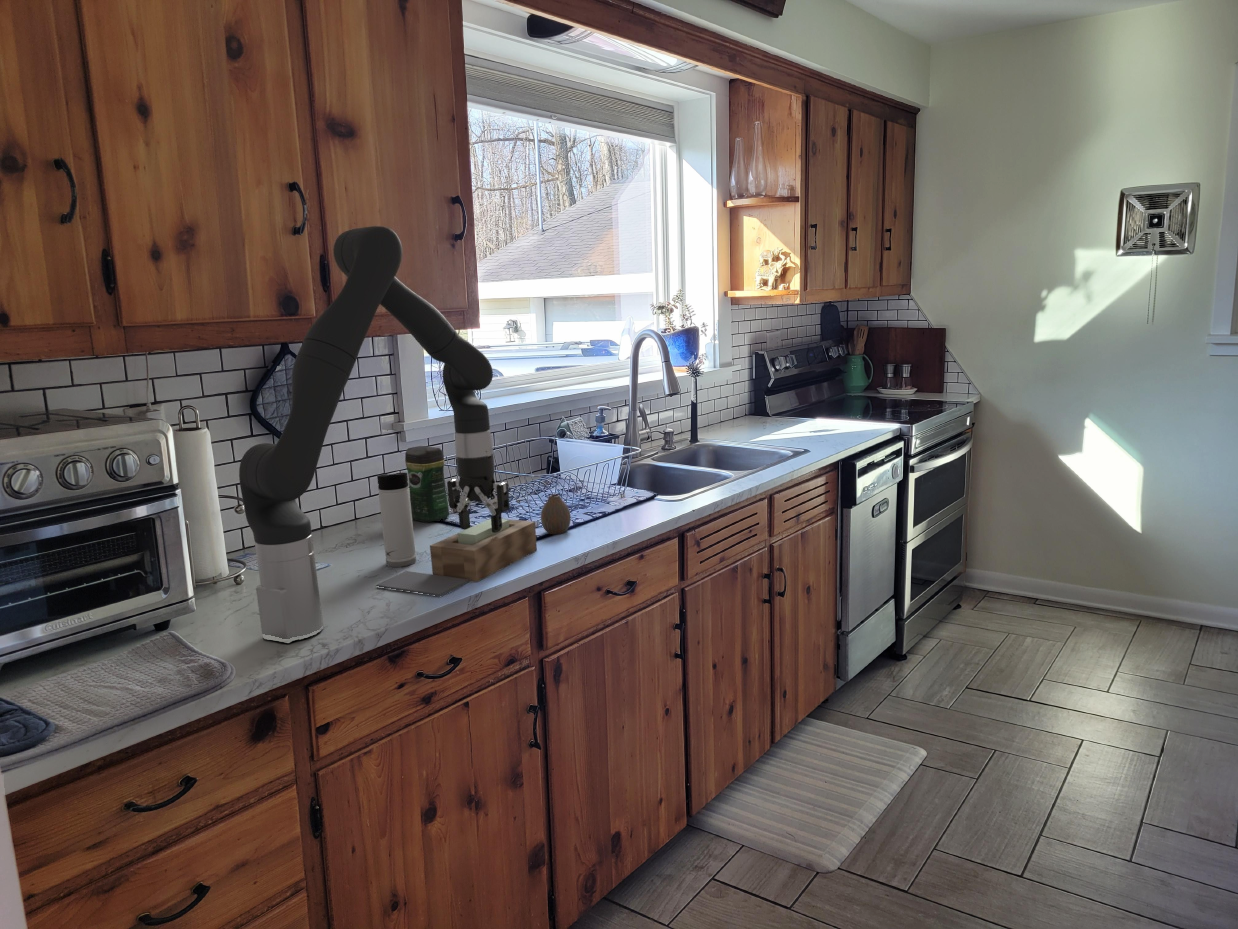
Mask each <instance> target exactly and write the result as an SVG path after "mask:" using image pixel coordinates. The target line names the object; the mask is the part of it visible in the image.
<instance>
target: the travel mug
mask: <svg viewBox="0 0 1238 929" xmlns="http://www.w3.org/2000/svg"><path fill="white" fill-rule="evenodd" d="M376 477H377V478H376V479H377V485H378V486H377V487H378V490H377V491H378V499H379V506H380V507H379V508H380V517H381V518H380V519H381V527H382V536H383V544H384V553H385V562H386V563H385V564H386V565H387V566H389V567H392V568H400V567H407V566H412V565H413V564H415V563H416V561H417V555H416V544H415V535H414V527H413V526H414V525H413V524H414V523H413V519H412V513H411V503H410V490H409V476H408V472H395V473H390V474H388V473H386V474H385V473H384V474H379V475H377V476H376Z"/></svg>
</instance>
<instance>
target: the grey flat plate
mask: <svg viewBox="0 0 1238 929" xmlns="http://www.w3.org/2000/svg"><path fill="white" fill-rule="evenodd" d="M468 583H470V581H469V579H463V578H455V577H448V576H440V575H433V573H424V572H415V571H411V570H410V571H409V570H405V571H403V572H401V573H399V574H397V575H394V576H391V577H390V578H388V579H385V580H383V581H382V582H379V583H377V584H375V587H376V586H379V587H384V588H391V589H396V590H403V591H410V592H418V593H423V594H429V595H435V596H434V597H436V596H442V595H444V594H446V595H448V594H449V592H450V593H451V592H453V591H456V590H458V589H459V588H461V587H463V586H465V585H466V584H467V585H468ZM447 593H448V594H447ZM423 594H422V595H423ZM429 595H428V596H429ZM444 596H445V595H444ZM442 597H443V596H442Z"/></svg>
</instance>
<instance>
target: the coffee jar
mask: <svg viewBox="0 0 1238 929" xmlns="http://www.w3.org/2000/svg"><path fill="white" fill-rule="evenodd" d="M404 453H405V454H404V455H405V456H404V457H405V459H404V463H405V466H406V469H407V476H408V485H409V493H410V503H411V513H412V520H415V521H420V522H426V523H431V522H436V521H437V522H440V520H441V519H443V518H445V519H446V518H448V517H449V516H450V506H449V500H448V494H447V491H446V481H445V473H444V472H445V471H444V468H445V467H444V466H445V457H444V452H443V450H442V449H441V448H440V447H433V446H426V445H418V446H412V447H408V448H407V449H406V451H405V452H404ZM443 520H444V519H443ZM441 521H442V520H441Z"/></svg>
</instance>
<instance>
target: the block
mask: <svg viewBox="0 0 1238 929" xmlns="http://www.w3.org/2000/svg"><path fill="white" fill-rule="evenodd" d="M505 519H506V518H502V528H501V530H500V531H499V532H501V531H503V530H505V529H507V528H510V527H509V520H505ZM499 532H497V533H499ZM497 533H493V532H492V526H491V518H488V519H486V520H484V521H482V522H479V523H478V524H475V525H473V526H470V528H468V529H462V530H461V531H459V532H457V533H456V534H458V543H460V544H469V545H473V544H475V543H477V542H480V541H482V540H484V539H486V538H488V537H490V536H492V535H495V534H497Z"/></svg>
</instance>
